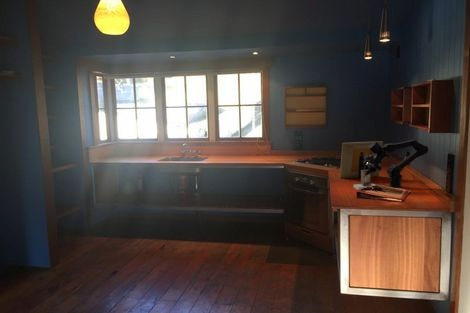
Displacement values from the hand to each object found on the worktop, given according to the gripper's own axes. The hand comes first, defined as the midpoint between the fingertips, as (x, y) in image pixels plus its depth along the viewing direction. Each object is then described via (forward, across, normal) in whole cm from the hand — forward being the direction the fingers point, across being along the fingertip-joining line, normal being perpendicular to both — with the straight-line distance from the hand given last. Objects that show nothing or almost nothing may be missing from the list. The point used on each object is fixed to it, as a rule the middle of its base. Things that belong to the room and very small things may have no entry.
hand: (363, 174), depth 264 cm
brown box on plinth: (+4, 0, +6) cm, 7 cm away
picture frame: (-4, -40, +18) cm, 44 cm away
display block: (+6, 0, +8) cm, 10 cm away
